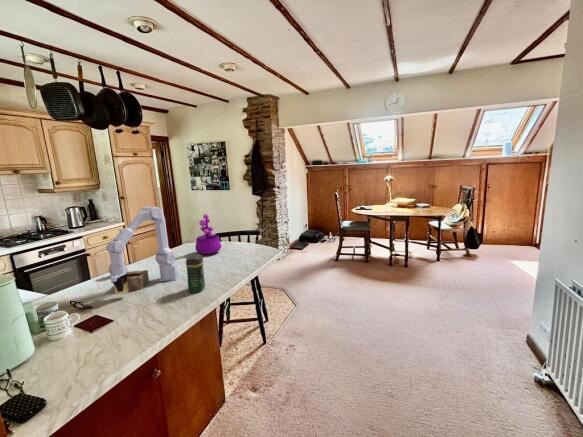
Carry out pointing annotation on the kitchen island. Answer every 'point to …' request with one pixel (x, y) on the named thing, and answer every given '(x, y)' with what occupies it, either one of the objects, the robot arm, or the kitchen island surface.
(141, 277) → the brown square open block
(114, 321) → the kitchen island surface
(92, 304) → the kitchen island surface
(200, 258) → the coffee jar
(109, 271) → the donut
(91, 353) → the kitchen island surface
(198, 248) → the decorative plant
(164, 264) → the robot arm
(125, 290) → the wooden block
